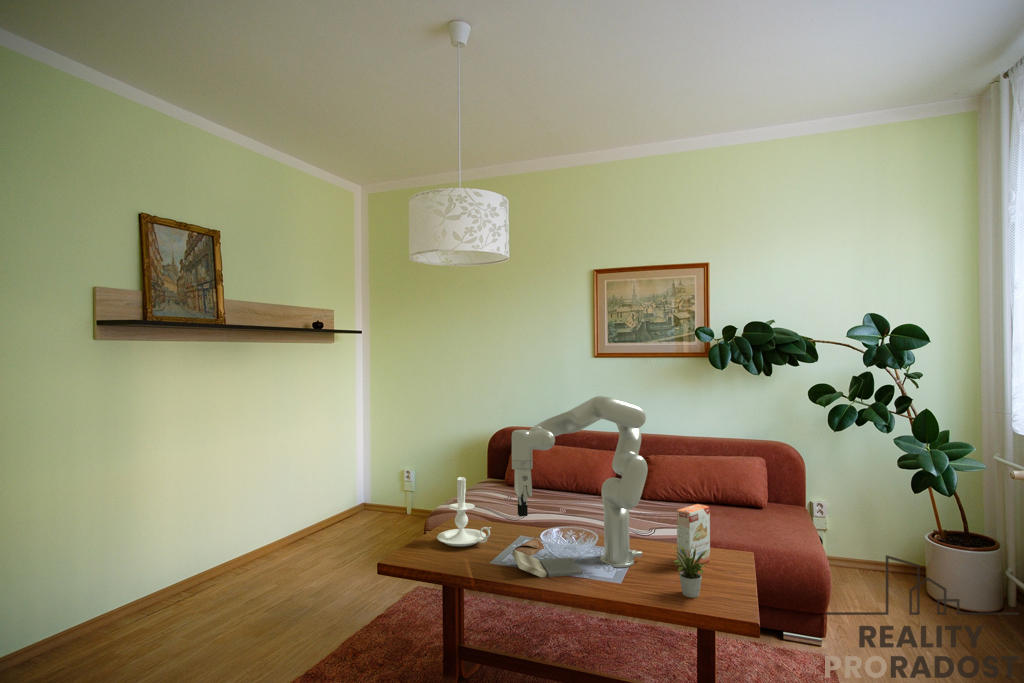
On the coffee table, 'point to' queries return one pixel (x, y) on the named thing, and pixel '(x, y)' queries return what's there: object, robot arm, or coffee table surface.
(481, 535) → the candlestick
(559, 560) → the floor board
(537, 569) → the ash plank
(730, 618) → the coffee table surface
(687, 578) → the house plant
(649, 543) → the coffee table surface
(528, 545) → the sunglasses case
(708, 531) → the cracker box
